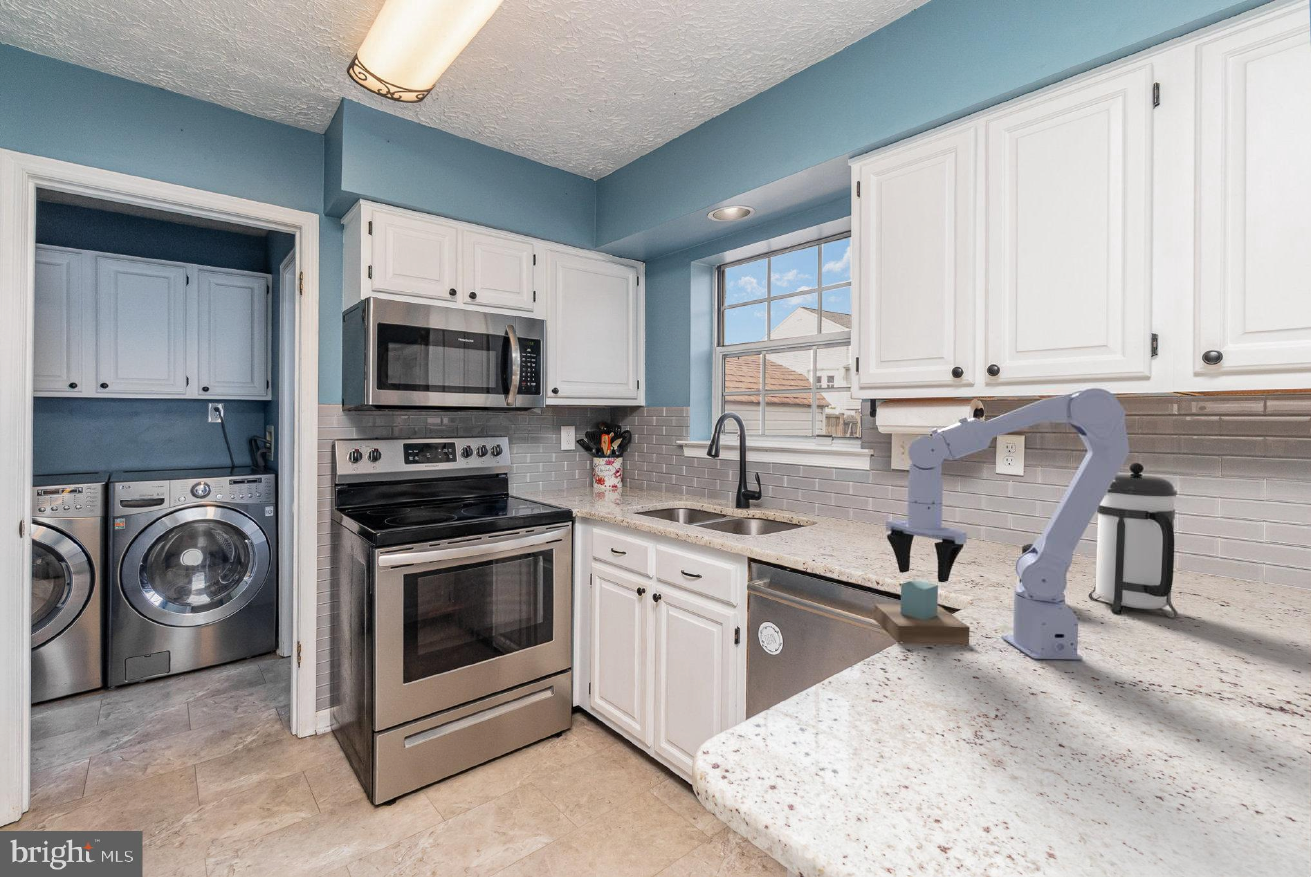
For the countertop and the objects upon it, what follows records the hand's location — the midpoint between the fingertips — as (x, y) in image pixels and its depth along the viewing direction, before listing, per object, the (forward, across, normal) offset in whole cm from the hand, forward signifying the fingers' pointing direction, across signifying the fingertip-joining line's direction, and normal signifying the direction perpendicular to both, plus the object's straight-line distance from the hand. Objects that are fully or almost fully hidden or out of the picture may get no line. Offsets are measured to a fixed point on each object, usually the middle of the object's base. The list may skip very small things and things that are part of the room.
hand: (923, 576), depth 109 cm
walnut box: (+10, 0, +1) cm, 10 cm away
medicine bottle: (+10, -3, -37) cm, 39 cm away
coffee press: (+10, -17, -48) cm, 52 cm away
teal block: (+7, 0, +1) cm, 7 cm away
